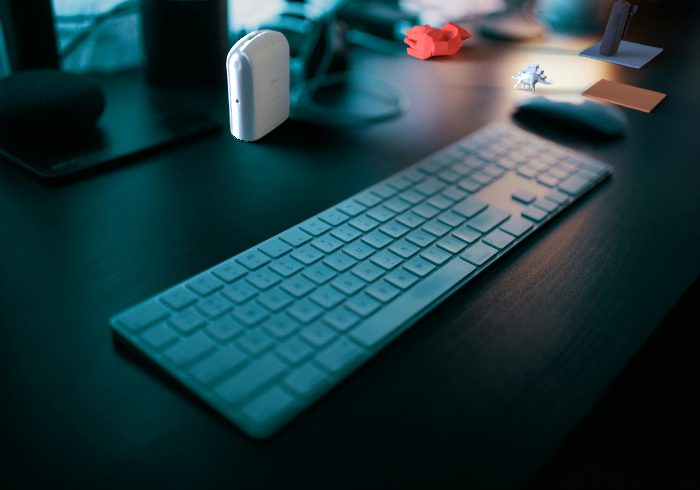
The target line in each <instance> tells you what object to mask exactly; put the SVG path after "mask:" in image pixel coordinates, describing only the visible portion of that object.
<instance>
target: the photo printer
mask: <svg viewBox="0 0 700 490" xmlns="http://www.w3.org/2000/svg"><path fill="white" fill-rule="evenodd" d="M226 57H227V58H226V70H227V71H226V73H227V86H228V87H227V88H228V104H229V124H230V133H231V135H233V137H234V136H235V137H236V138H237V140H238V139H240V140H239V141H241V140H244V141H243V142H248V141H251V142H254V141H257V140H259V139H261V138H263V137H264V136H266V135H267V134H269V133H270V132H272V131H273V130H274V129H276V128H278V127H279V126H280V125H282V123H284V122H285V121H286V120H287V119H288V118H289V116H290V45H289V41H288V40H287V37H286V36H285V35H284V34H283V33H282V32H280V31H276V30H271V29H259V30H255V31H252V32H251V33H248V34H247V35H245V36H244V37H242V38H240V40H238V41H237V42H236V43H235V44H234V45H233V46H232V48H231V49H230V51H229V52H228V54H227V56H226ZM235 137H234V138H235ZM236 138H235V139H236Z"/></svg>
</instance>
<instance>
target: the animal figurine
mask: <svg viewBox="0 0 700 490" xmlns="http://www.w3.org/2000/svg"><path fill="white" fill-rule="evenodd" d="M404 32H405V35H406V36H407V37H405V38H404V43H405V44H407V45H409V47H406V51H407V54H408V55H410V56H413V57H415V58H417V59H420V60H426V59H429V58H432V57H434V56H455V55H456V54H457V52H458V51H459V50H460V49H461V47H462V46H463V45H464V42H463V41H465V40H466V41H467V40H468V39H470V38H472V37H473V35H472V34H471V33H470V32H469V31H468V30H467V29H465V28H463V27H462V26H460V25H458V24H456V23H455V22H451V21H448V22H447V23H446V24H445V25H443V26H442V27H441V28H440V27H434V26H432V25H431V24H427V23H426V24H425V25H422V24H421V25H420V24H419V25H414V26H413V27H411V28H409V29H405V30H404Z"/></svg>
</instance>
